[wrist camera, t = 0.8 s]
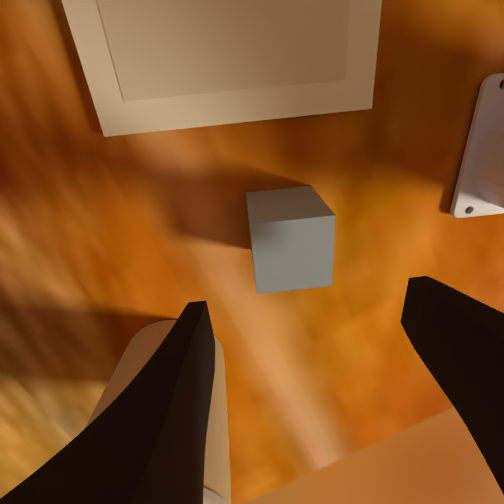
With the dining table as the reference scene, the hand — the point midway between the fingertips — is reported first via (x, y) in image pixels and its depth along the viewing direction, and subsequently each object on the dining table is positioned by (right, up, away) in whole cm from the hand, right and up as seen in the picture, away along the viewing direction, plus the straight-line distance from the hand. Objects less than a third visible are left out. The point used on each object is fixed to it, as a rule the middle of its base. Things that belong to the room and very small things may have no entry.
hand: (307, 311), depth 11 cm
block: (0, +4, +8) cm, 9 cm away
